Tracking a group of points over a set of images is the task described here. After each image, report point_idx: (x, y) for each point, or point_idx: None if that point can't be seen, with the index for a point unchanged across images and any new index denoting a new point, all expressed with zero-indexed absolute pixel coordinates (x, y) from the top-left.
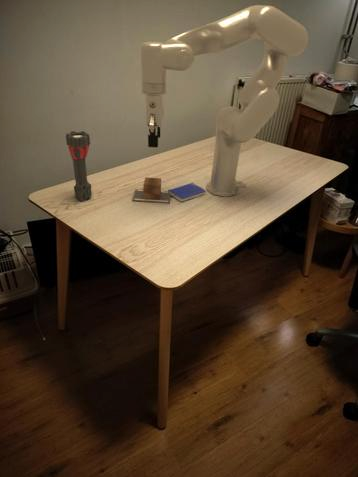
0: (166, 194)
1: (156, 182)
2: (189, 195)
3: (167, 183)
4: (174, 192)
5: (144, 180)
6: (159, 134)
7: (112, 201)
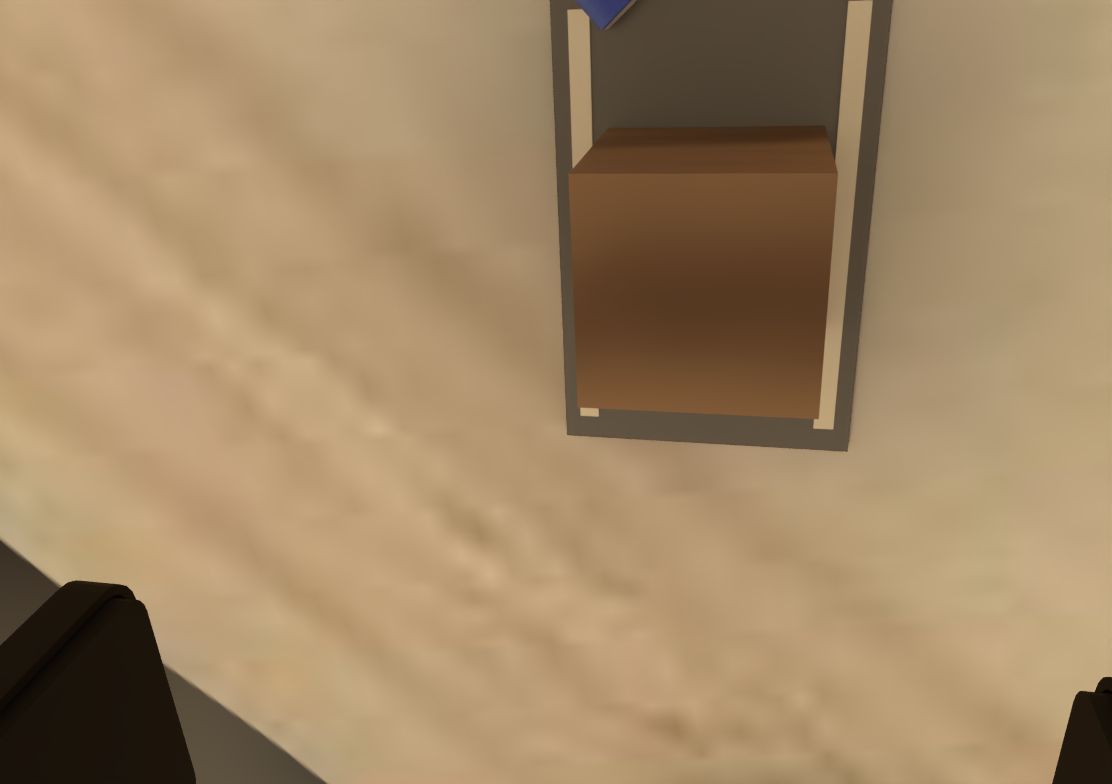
0: (648, 44)
1: (732, 238)
2: None
3: (296, 58)
4: None
5: (684, 411)
6: (71, 669)
7: (860, 623)
